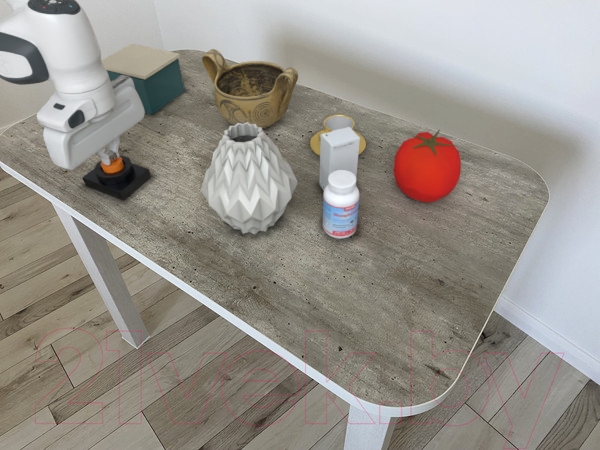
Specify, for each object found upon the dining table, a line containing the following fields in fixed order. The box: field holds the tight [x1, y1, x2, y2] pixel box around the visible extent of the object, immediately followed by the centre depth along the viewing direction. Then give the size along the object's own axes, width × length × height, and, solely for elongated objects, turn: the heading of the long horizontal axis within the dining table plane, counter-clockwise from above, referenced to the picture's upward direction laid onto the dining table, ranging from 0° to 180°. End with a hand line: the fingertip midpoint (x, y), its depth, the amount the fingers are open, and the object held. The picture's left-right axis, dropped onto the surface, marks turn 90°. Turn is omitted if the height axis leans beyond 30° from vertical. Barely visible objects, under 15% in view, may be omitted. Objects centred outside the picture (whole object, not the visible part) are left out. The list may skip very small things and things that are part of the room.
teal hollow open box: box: [106, 58, 186, 115], centre depth 118 cm, size 15×13×9 cm
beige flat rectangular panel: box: [101, 42, 181, 79], centre depth 114 cm, size 15×13×1 cm
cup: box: [309, 114, 367, 157], centre depth 102 cm, size 12×12×5 cm
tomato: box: [393, 129, 462, 203], centre depth 88 cm, size 12×13×12 cm
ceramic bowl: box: [201, 48, 299, 130], centre depth 106 cm, size 22×17×15 cm
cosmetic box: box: [318, 127, 360, 191], centre depth 90 cm, size 6×4×12 cm
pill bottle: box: [322, 170, 360, 239], centre depth 82 cm, size 6×6×11 cm
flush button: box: [100, 157, 124, 173], centre depth 94 cm, size 4×4×2 cm
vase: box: [200, 122, 299, 235], centre depth 82 cm, size 16×16×18 cm
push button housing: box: [81, 154, 152, 202], centre depth 95 cm, size 10×8×4 cm
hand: (111, 160), depth 93 cm, fingers closed, pressing on flush button
